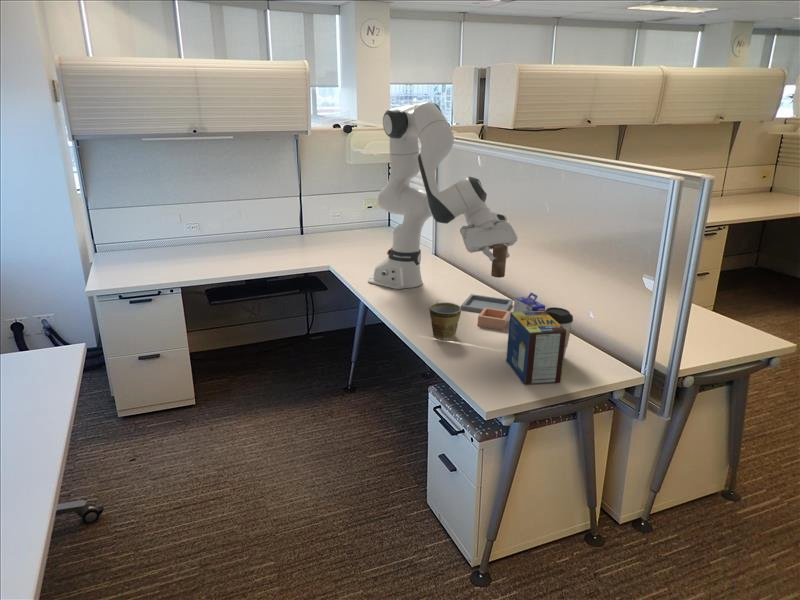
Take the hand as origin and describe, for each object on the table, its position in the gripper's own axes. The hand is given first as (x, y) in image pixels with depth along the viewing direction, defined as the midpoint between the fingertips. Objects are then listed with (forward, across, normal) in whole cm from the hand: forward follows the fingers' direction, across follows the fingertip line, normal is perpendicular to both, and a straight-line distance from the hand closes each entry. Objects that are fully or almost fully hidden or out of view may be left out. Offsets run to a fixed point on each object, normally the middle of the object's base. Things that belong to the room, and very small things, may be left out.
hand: (500, 258), depth 185 cm
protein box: (+39, -15, -5) cm, 42 cm away
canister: (+4, 0, +5) cm, 6 cm away
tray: (+7, +9, +26) cm, 29 cm away
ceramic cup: (+15, -21, +18) cm, 31 cm away
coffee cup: (+36, -3, -3) cm, 36 cm away
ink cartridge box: (+26, +2, +8) cm, 27 cm away
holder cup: (+16, 0, +17) cm, 23 cm away
